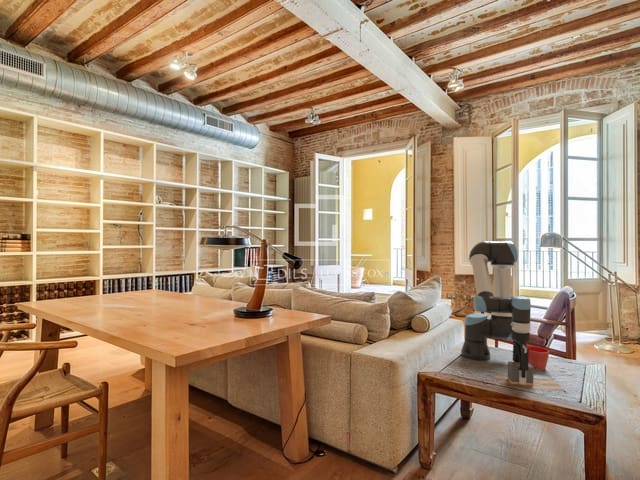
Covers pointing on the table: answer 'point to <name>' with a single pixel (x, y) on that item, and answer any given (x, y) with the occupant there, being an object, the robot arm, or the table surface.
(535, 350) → the flower pot
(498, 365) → the table surface
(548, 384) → the plank
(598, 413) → the table surface
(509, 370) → the sanding block
